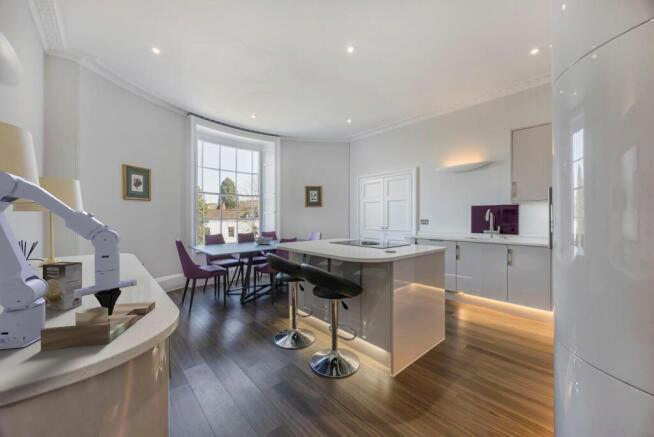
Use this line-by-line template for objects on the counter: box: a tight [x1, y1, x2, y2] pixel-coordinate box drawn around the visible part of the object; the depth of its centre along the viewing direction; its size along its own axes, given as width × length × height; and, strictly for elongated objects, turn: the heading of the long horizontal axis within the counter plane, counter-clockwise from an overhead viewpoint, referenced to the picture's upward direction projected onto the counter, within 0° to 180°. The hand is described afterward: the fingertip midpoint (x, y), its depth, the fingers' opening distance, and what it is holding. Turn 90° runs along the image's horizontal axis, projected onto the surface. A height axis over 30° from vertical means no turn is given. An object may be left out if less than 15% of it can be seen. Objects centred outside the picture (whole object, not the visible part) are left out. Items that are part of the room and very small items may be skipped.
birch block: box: [74, 306, 108, 326], centre depth 73 cm, size 5×5×4 cm
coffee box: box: [42, 261, 83, 311], centre depth 93 cm, size 9×6×16 cm
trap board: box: [40, 300, 156, 351], centre depth 78 cm, size 28×14×5 cm, turn 13°
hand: (107, 315), depth 77 cm, fingers closed
